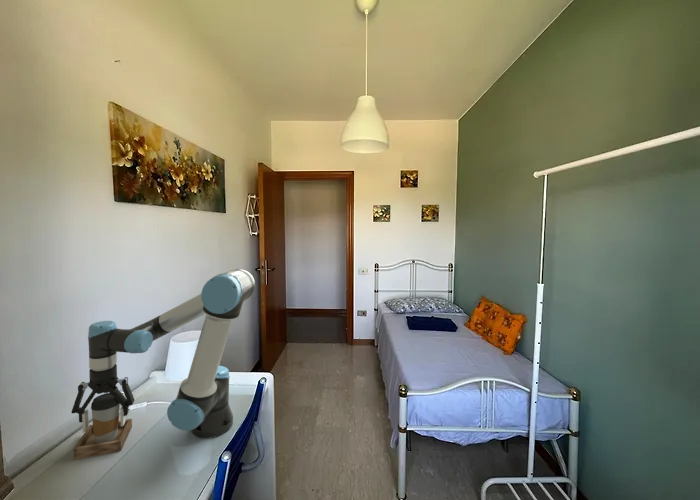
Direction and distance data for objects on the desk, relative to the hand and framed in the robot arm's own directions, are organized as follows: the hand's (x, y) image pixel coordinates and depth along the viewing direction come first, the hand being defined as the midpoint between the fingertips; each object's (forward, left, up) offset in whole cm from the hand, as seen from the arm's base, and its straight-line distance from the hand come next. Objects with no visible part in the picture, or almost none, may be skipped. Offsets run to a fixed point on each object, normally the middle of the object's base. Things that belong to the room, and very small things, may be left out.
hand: (104, 426), depth 111 cm
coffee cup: (0, 0, -5) cm, 5 cm away
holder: (0, 0, -6) cm, 6 cm away
